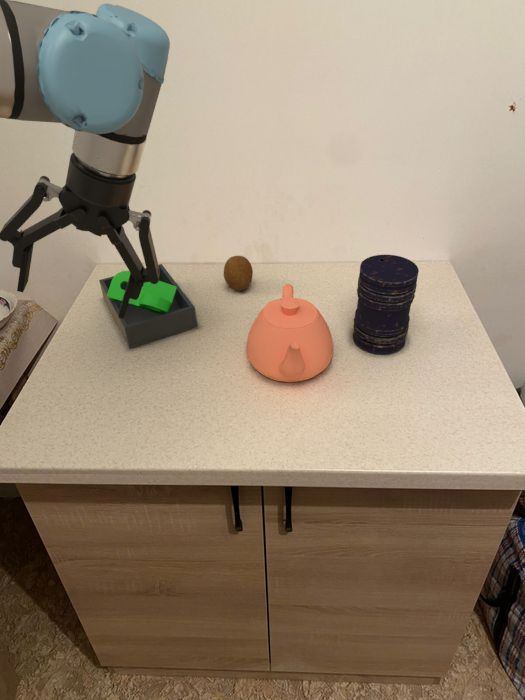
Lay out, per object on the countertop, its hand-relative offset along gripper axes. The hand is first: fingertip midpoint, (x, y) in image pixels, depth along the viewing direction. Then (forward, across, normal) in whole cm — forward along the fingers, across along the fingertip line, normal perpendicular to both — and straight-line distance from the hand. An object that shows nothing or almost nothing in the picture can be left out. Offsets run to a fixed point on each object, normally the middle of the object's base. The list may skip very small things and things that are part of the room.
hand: (73, 299), depth 71 cm
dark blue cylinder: (-2, -53, -9) cm, 54 cm away
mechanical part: (+13, -11, -23) cm, 28 cm away
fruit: (+10, -31, -30) cm, 44 cm away
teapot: (+5, -37, -4) cm, 37 cm away
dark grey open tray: (+17, -13, -23) cm, 31 cm away
